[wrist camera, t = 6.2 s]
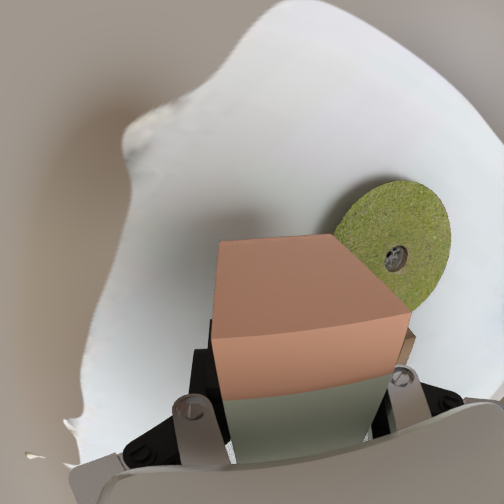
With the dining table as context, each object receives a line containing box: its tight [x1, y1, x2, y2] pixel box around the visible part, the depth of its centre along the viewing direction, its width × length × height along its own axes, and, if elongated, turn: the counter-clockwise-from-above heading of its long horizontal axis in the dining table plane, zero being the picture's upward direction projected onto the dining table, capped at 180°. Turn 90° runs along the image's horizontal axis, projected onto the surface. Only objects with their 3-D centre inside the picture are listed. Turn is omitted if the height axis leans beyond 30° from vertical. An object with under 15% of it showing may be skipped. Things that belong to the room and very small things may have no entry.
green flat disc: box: [333, 180, 451, 312], centre depth 18 cm, size 11×11×2 cm
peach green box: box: [211, 234, 412, 464], centre depth 10 cm, size 9×4×6 cm, turn 3°
